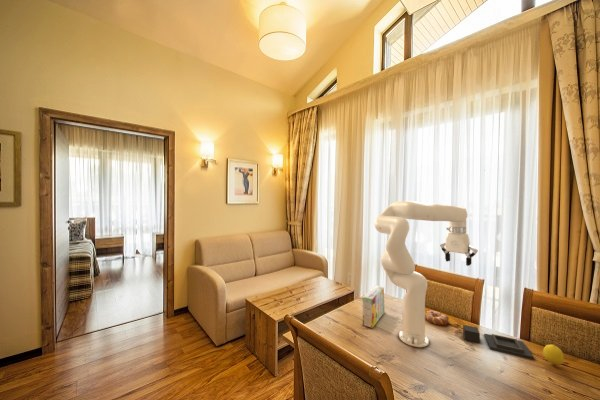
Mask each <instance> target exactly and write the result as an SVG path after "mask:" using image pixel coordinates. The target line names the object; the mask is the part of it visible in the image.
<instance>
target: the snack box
mask: <svg viewBox="0 0 600 400" xmlns="http://www.w3.org/2000/svg"><path fill="white" fill-rule="evenodd" d="M385 313H386V311H385V287H384V286H383V285H382V286H381V285H377V284H376V285H374V286H373V287H372V288H370V290H368V292H366V293H365V294H364V295H363V296H362V326H363V327H367V328H371V329H373V328H374V327H375V326H376V324H377V323H378V321H379V320H380V319H381V317H382V316H383V315H384V314H385Z"/></svg>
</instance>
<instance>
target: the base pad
mask: <svg viewBox="0 0 600 400" xmlns="http://www.w3.org/2000/svg"><path fill="white" fill-rule="evenodd" d="M483 336H484V338H485V341H486V342H487V345H488V348H489V349H490V350H492V351H497V352H501V353H505V354H508V355H513V356H517V357H520V358H521V357H522V358H526V359H529V360H534V356H533V354H532V353H531V352H530V350H529V349H528V346H527V345H526V344H525V342H524V341H521V340H518V339H517V338H513V337H508V336H504V335H499V334H494V333H491V334H488V333H484V334H483Z"/></svg>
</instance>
